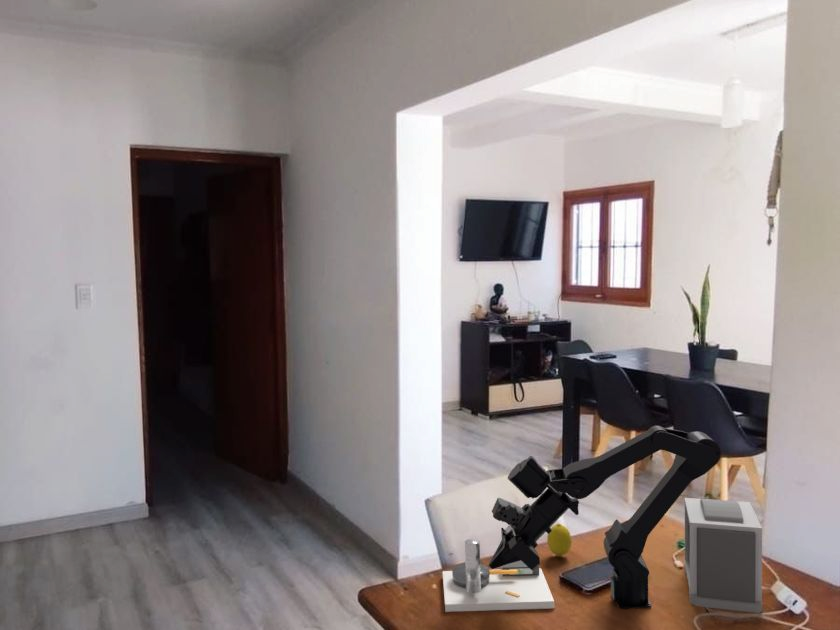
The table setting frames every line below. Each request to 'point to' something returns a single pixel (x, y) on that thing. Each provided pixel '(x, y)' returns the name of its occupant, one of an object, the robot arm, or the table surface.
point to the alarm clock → (723, 554)
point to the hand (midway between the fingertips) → (490, 566)
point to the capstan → (474, 569)
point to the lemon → (559, 540)
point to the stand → (501, 591)
